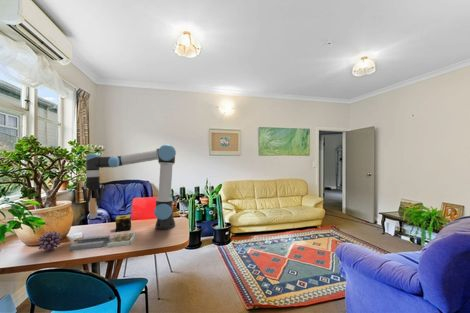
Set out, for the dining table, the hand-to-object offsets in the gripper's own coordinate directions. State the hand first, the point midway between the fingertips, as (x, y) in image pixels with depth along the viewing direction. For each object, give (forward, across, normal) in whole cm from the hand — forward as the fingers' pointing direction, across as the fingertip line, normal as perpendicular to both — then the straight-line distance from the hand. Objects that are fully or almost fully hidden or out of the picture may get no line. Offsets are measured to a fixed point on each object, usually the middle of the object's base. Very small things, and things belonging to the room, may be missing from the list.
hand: (93, 210), depth 143 cm
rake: (+5, 0, 0) cm, 5 cm away
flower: (+20, +19, +12) cm, 30 cm away
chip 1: (+19, -18, +12) cm, 29 cm away
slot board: (+20, -4, +12) cm, 23 cm away
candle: (+20, -15, -16) cm, 30 cm away
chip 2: (+19, -22, +12) cm, 32 cm away
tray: (+20, -20, +12) cm, 31 cm away
